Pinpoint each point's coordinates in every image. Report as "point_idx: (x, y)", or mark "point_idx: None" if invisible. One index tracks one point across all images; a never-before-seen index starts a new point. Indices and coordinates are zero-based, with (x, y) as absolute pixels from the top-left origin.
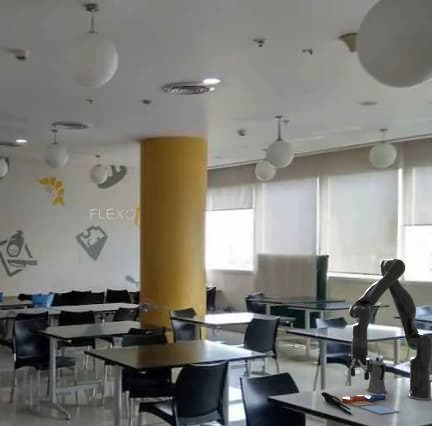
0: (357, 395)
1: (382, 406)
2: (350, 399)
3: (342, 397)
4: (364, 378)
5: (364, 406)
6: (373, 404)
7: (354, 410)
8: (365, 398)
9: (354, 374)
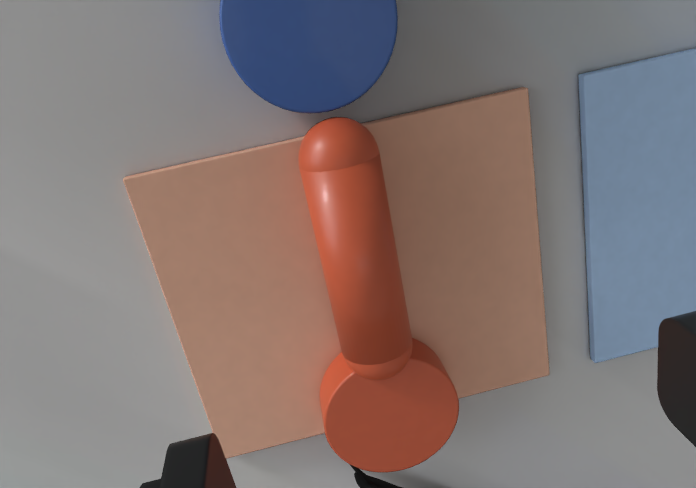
0: (357, 268)
1: (665, 68)
2: (457, 415)
3: (356, 464)
4: (688, 430)
5: (601, 307)
6: (526, 110)
7: (658, 459)
8: (338, 107)
9: (214, 483)
